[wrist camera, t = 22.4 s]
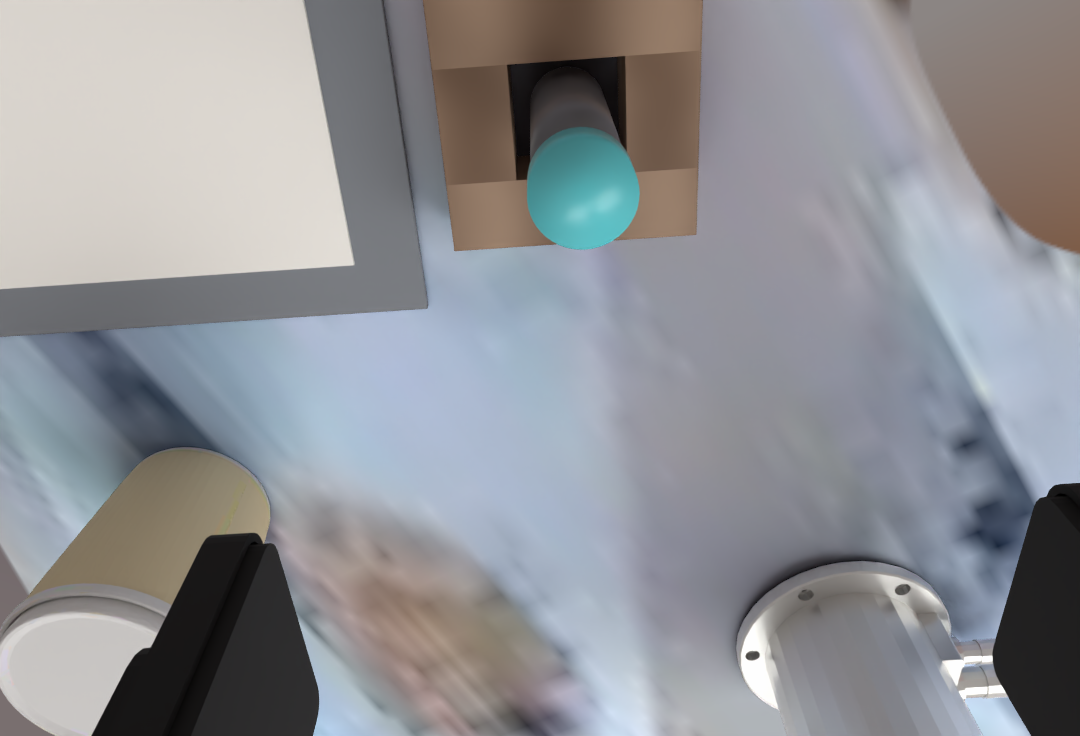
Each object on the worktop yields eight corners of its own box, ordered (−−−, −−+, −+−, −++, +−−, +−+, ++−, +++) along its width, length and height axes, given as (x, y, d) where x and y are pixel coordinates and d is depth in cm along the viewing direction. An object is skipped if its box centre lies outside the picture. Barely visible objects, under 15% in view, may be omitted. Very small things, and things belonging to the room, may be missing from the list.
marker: (602, 54, 34) (639, 136, 23) (604, 132, 36) (640, 245, 24) (524, 60, 34) (522, 144, 23) (530, 138, 36) (531, 253, 25)
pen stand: (687, -41, 32) (703, -34, 29) (682, 206, 37) (696, 234, 34) (431, -22, 33) (421, -13, 30) (460, 221, 38) (454, 251, 35)
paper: (293, -54, 32) (292, -54, 32) (354, 263, 38) (354, 265, 38) (-170, -19, 32) (-174, -18, 32) (-32, 289, 39) (-35, 291, 38)
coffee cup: (149, 575, 48) (43, 765, 38) (82, 443, 43) (-58, 619, 33) (307, 558, 48) (244, 745, 37) (257, 422, 43) (170, 593, 33)
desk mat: (362, -137, 31) (361, -137, 30) (428, 304, 40) (427, 308, 39) (-273, -87, 31) (-282, -87, 31) (-67, 337, 40) (-72, 341, 40)
